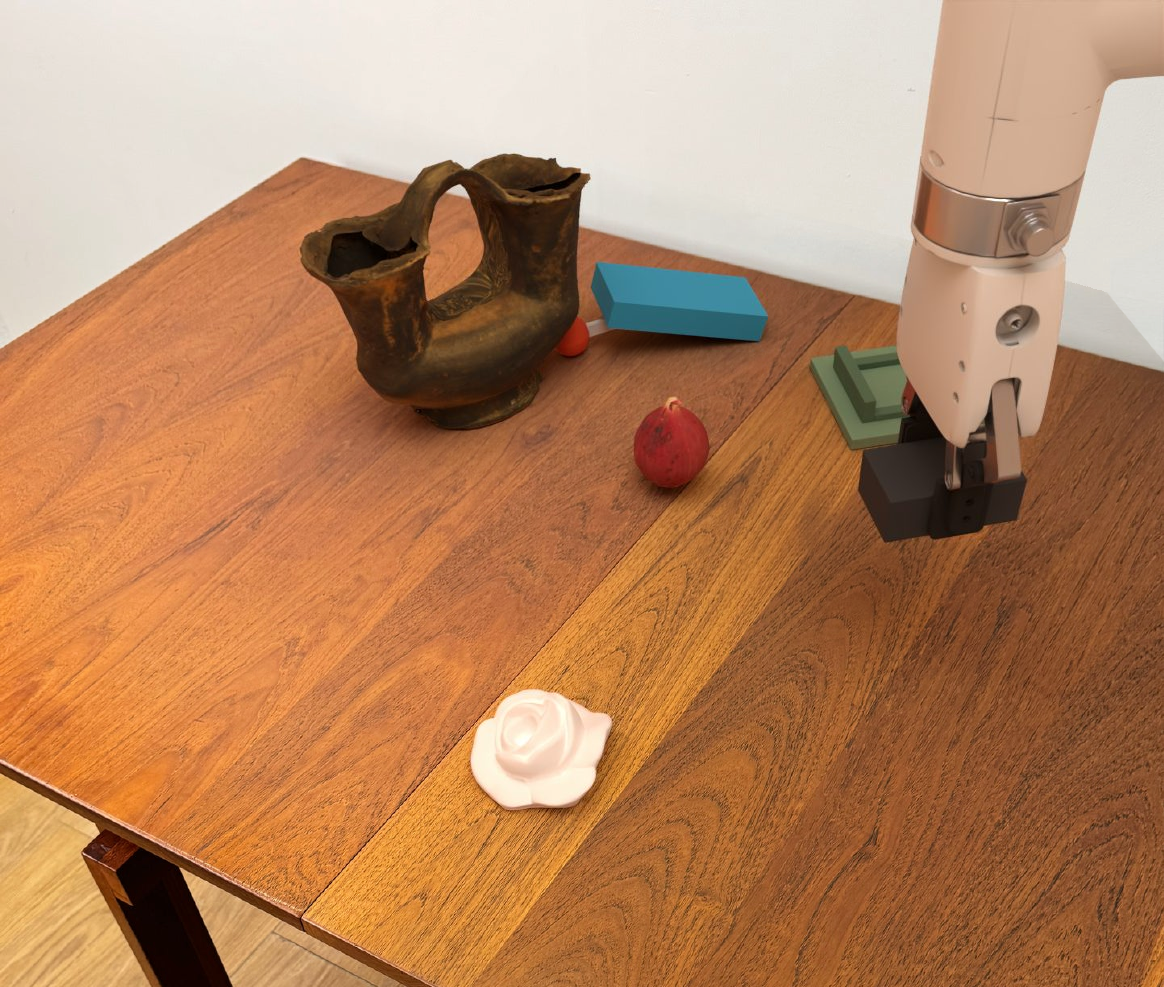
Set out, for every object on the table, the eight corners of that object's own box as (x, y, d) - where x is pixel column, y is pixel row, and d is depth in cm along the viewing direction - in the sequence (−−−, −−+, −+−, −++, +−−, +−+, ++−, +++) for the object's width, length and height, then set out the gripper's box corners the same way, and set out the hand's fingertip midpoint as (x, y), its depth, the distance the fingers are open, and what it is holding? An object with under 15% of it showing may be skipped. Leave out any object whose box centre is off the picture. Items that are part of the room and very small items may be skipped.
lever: (722, 347, 119) (540, 331, 114) (745, 277, 114) (555, 257, 109) (744, 387, 115) (556, 373, 109) (768, 316, 110) (572, 298, 104)
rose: (646, 735, 77) (507, 801, 75) (648, 780, 81) (514, 844, 78) (568, 639, 83) (436, 697, 80) (572, 684, 86) (446, 741, 84)
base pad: (965, 344, 109) (971, 313, 107) (1018, 424, 102) (1026, 393, 99) (809, 368, 108) (812, 336, 106) (850, 450, 101) (854, 419, 99)
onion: (675, 519, 97) (675, 432, 91) (619, 490, 99) (616, 403, 93) (722, 482, 99) (725, 395, 93) (667, 454, 102) (666, 368, 96)
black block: (984, 469, 76) (994, 427, 74) (1017, 521, 73) (1028, 479, 70) (857, 490, 75) (862, 449, 73) (884, 543, 72) (890, 502, 70)
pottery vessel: (390, 488, 101) (339, 255, 86) (319, 430, 107) (260, 201, 91) (624, 365, 110) (616, 134, 95) (548, 317, 116) (528, 92, 101)
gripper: (1151, 278, 55) (1056, 587, 69) (1002, 112, 65) (946, 408, 80) (986, 305, 54) (925, 610, 68) (863, 133, 65) (832, 428, 79)
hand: (937, 499), depth 74 cm, fingers closed on black block, 5 cm apart
